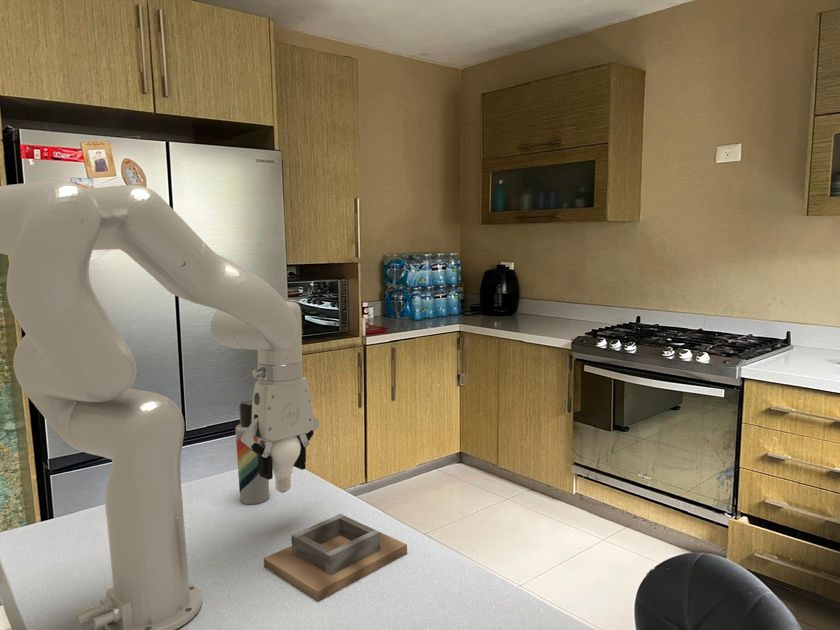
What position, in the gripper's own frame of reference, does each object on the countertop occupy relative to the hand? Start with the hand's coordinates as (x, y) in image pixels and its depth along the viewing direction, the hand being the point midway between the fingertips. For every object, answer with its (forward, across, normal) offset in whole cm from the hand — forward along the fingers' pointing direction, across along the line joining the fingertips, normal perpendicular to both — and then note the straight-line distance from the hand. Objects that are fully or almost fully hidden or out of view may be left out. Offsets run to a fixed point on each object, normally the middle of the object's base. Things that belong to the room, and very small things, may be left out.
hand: (282, 471), depth 110 cm
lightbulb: (+4, 0, 0) cm, 4 cm away
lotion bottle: (+10, +4, +15) cm, 19 cm away
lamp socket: (+11, 0, -16) cm, 19 cm away
